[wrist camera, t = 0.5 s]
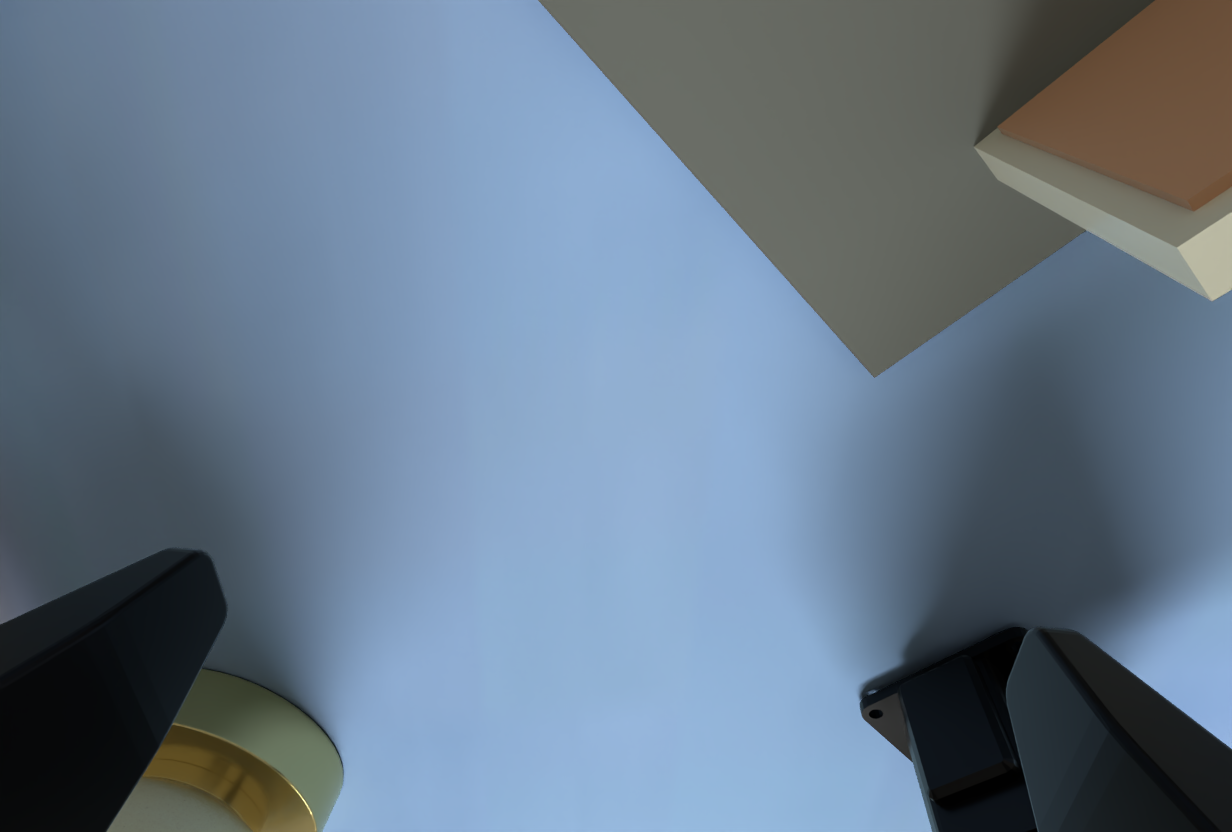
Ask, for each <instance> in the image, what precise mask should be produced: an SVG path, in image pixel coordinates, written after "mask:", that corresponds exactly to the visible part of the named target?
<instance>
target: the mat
mask: <svg viewBox="0 0 1232 832" xmlns="http://www.w3.org/2000/svg"><path fill="white" fill-rule="evenodd" d="M538 1H539V2H540V3H541V4H542V5H543V6H544V7H545V8H546V9H547V11H548V12H549V13H550V14H551V15H552V16H553V17H554V18H555V20H556V21H557V22H558V23H559V24H560V25H561V26H562V27H563V29H564V30H565V31H566V32H567V33H568V34H569V35H570V36H571V38H572V39H573V40H574V41H575V42H576V43H577V44H578V45H579V47H580V48H581V49H582V50H583V51H584V52H585V53H586V54H587V56H588V57H589V58H590V59H591V60H592V61H593V62H594V63H595V65H596V66H597V67H598V68H599V69H600V70H601V71H602V72H603V74H604V75H605V76H606V77H607V78H608V79H609V80H610V81H611V83H612V84H613V85H614V86H615V87H616V88H617V89H618V90H619V92H620V93H621V94H622V95H623V96H624V97H625V98H626V99H627V100H628V102H629V103H630V104H631V105H632V106H633V107H634V108H635V109H636V111H637V112H638V113H639V114H640V115H641V116H642V117H643V118H644V120H645V121H646V122H647V123H648V124H649V125H650V126H651V127H652V129H653V130H654V131H655V132H656V133H657V134H658V135H659V136H660V138H661V139H662V140H663V141H664V142H665V143H666V144H667V145H668V147H669V148H670V149H671V150H672V151H673V152H674V153H675V154H676V156H677V157H678V158H679V159H680V160H681V161H682V162H683V163H684V165H685V166H686V167H687V168H688V169H689V170H690V171H691V172H692V174H693V175H694V176H695V177H696V178H697V179H698V180H699V181H700V182H701V184H702V185H703V186H704V187H705V188H706V189H707V190H708V191H709V193H710V194H711V195H712V196H713V197H714V198H715V199H716V200H717V202H718V203H719V204H720V205H721V206H722V207H723V208H724V209H725V211H726V212H727V213H728V214H729V215H730V216H731V217H732V218H733V220H734V221H735V222H736V223H737V224H738V225H739V226H740V227H741V229H742V230H743V231H744V232H745V233H746V234H747V235H748V236H749V238H750V239H751V240H752V241H753V242H754V243H755V244H756V245H757V247H758V248H759V249H760V250H761V251H762V252H763V253H764V254H765V256H766V257H767V258H768V259H769V260H770V261H771V262H772V263H773V265H774V266H775V267H776V268H777V269H778V270H779V271H780V272H781V273H782V275H783V276H784V277H785V278H786V279H787V280H788V281H789V282H790V284H791V285H792V286H793V287H794V288H795V289H796V290H797V291H798V293H799V294H800V295H801V296H802V297H803V298H804V299H805V300H806V302H807V303H808V304H809V305H810V306H811V307H812V308H813V309H814V311H815V312H816V313H817V314H818V315H819V316H820V317H821V318H822V320H823V321H824V322H825V323H826V324H827V325H828V326H829V327H830V329H831V330H832V331H833V332H834V333H835V334H836V335H837V336H838V338H839V339H840V340H841V341H842V342H843V343H844V344H845V345H846V347H847V348H848V349H849V350H850V351H851V352H852V353H853V354H854V356H855V357H856V358H857V359H858V360H859V361H860V362H861V363H862V364H863V366H864V367H865V368H866V369H867V370H868V371H869V372H870V373H871V375H872V376H873V377H874V378H875V377H876V376H878V375H879V374H881V373H882V372H884V371H885V370H886V369H888V368H889V367H891V366H892V365H894V364H895V363H896V362H898V361H899V360H901V359H902V358H904V357H905V356H907V355H908V354H909V353H911V352H912V351H914V350H915V349H917V348H918V347H919V346H921V345H922V344H924V343H925V342H927V341H928V340H929V339H931V338H932V337H934V336H935V335H937V334H938V333H940V332H941V331H942V330H944V329H945V328H947V327H948V326H950V325H951V324H952V323H954V322H955V321H957V320H958V319H960V318H961V317H962V316H964V315H965V314H967V313H968V312H970V311H971V310H973V309H974V308H975V307H977V306H978V305H980V304H981V303H983V302H984V301H985V300H987V299H988V298H990V297H991V296H993V295H994V294H996V293H997V292H998V291H1000V290H1001V289H1003V288H1004V287H1006V286H1007V285H1008V284H1010V283H1011V282H1013V281H1014V280H1016V279H1017V278H1018V277H1020V276H1021V275H1023V274H1024V273H1026V272H1027V271H1029V270H1030V269H1031V268H1033V267H1034V266H1036V265H1037V264H1039V263H1040V262H1041V261H1043V260H1044V259H1046V258H1047V257H1049V256H1050V255H1051V254H1053V253H1054V252H1056V251H1057V250H1059V249H1060V248H1062V247H1063V246H1064V245H1066V244H1067V243H1069V242H1070V241H1072V240H1073V239H1074V238H1076V237H1077V236H1079V235H1080V234H1082V233H1083V232H1085V231H1086V230H1085V229H1084V228H1082V227H1080V226H1078V225H1076V224H1075V223H1073V222H1071V221H1069V220H1068V219H1066V218H1064V217H1062V216H1061V215H1059V214H1057V213H1055V212H1054V211H1052V210H1050V209H1048V208H1047V207H1045V206H1043V205H1041V204H1039V203H1038V202H1036V201H1034V200H1032V199H1031V198H1029V197H1027V196H1025V195H1024V194H1022V193H1020V192H1018V191H1017V190H1015V189H1013V188H1011V187H1009V186H1008V185H1006V184H1004V183H1002V182H1001V181H999V180H997V178H996V177H995V175H994V174H993V173H992V171H991V170H990V169H989V167H988V166H987V164H986V163H985V162H984V160H983V159H982V158H981V156H980V155H979V154H978V152H977V151H976V149H975V148H974V146H975V145H977V144H978V143H979V142H980V141H982V140H983V139H984V138H985V137H987V136H988V135H989V134H990V133H992V132H993V131H994V130H995V129H997V128H998V126H999V125H1000V124H1001V123H1003V122H1004V121H1005V120H1006V119H1008V118H1009V117H1010V116H1011V115H1012V114H1014V113H1015V112H1016V111H1017V110H1019V109H1020V108H1021V107H1022V106H1024V105H1025V104H1026V103H1027V102H1029V101H1030V100H1031V99H1032V98H1034V97H1035V96H1036V95H1037V94H1039V93H1040V92H1041V91H1042V90H1044V89H1045V88H1046V87H1047V86H1049V85H1050V84H1051V83H1052V82H1054V81H1055V80H1056V79H1057V78H1059V77H1060V76H1061V75H1062V74H1064V73H1065V72H1066V71H1067V70H1069V69H1070V68H1071V67H1072V66H1074V65H1075V64H1076V63H1077V62H1079V61H1080V60H1081V59H1082V58H1084V57H1085V56H1086V55H1087V54H1089V53H1090V52H1091V51H1092V50H1094V49H1095V48H1096V47H1097V46H1099V45H1100V44H1101V43H1102V42H1104V41H1105V40H1106V39H1107V38H1109V37H1110V36H1111V35H1112V34H1114V33H1115V32H1116V31H1117V30H1119V29H1120V28H1121V27H1122V26H1124V25H1125V24H1126V23H1127V22H1129V21H1130V20H1131V19H1132V18H1134V17H1135V16H1136V15H1137V14H1139V13H1140V12H1141V11H1142V10H1144V9H1145V8H1146V7H1147V6H1149V5H1150V4H1151V3H1152V2H1154V1H1155V0H538Z"/></svg>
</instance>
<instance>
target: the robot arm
mask: <svg viewBox="0 0 1232 832" xmlns="http://www.w3.org/2000/svg"><path fill="white" fill-rule="evenodd" d="M226 617H227V601H226V597H225V594H224V591H223V589H222V586H221V583H220V580H219V577H218V574H217V571H216V568H215V565H214V562H213V559H212V557H211V556H210V555H209V554H208V553H207V552H205V551H203V550H199V549H188V548H168V549H165V550H162V551H160V552H158V553H156V554H154V555H151V556H149V557H147V558H145V559H143V560H141V561H138V562H136V563H134V564H132V565H130V566H127V567H125V568H123V569H121V570H119V571H117V572H114V573H112V574H110V575H108V576H106V577H103V578H101V579H99V580H97V581H95V582H93V583H90V584H88V585H86V586H84V587H82V588H79V589H77V590H75V591H73V592H71V593H69V594H66V595H64V596H62V597H60V598H58V599H55V600H53V601H51V602H49V603H47V604H45V605H42V606H40V607H38V608H36V609H34V610H31V611H29V612H27V613H25V614H23V615H21V616H18V617H16V618H14V619H12V620H10V621H7V622H5V623H3V624H1V625H0V832H107V831H108V829H109V827H110V826H111V824H112V823H113V821H114V820H115V818H116V816H117V815H118V813H119V812H120V810H121V809H122V807H123V805H124V804H125V802H126V801H127V799H128V798H129V796H130V795H131V793H132V791H133V790H134V788H135V787H136V785H137V784H138V782H139V780H140V779H141V777H142V776H143V774H144V773H145V771H146V770H147V768H148V766H149V765H150V763H151V761H152V760H153V758H154V756H155V755H156V753H157V751H158V750H159V748H160V746H161V745H162V743H163V741H164V739H165V737H166V735H167V734H168V732H169V730H170V728H171V726H172V724H173V723H174V721H175V719H176V717H177V715H178V713H179V711H180V709H181V707H182V705H183V703H184V701H185V699H186V697H187V695H188V694H189V692H190V690H191V688H192V686H193V684H194V682H195V680H196V678H197V676H198V674H199V672H200V670H201V668H202V666H203V665H204V663H205V661H206V659H207V657H208V655H209V653H210V651H211V649H212V647H213V645H214V643H215V641H216V639H217V637H218V635H219V634H220V632H221V630H222V628H223V626H224V623H225V620H226ZM1016 642H1018V643H1016ZM860 710H861V714H862V717H863V718H864V720H865V721H866V722H868V723H869V724H870V725H871V726H872V727H873V728H874V729H876V730H877V731H878V732H879V733H880V734H881V735H882V736H883V737H885V738H886V739H887V740H888V741H889V742H890V743H891V744H892V745H894V746H895V747H896V748H897V749H898V750H899V751H900V752H902V753H903V754H904V755H905V756H906V757H907V758H908V759H909V760H911V761H912V762H913V764H914V768H915V772H916V775H917V779H918V782H919V786H920V789H921V793H922V797H923V800H924V804H925V807H926V811H927V814H928V818H929V821H930V825H931V829H932V832H1232V749H1231V748H1230V747H1228V746H1227V745H1226V744H1224V743H1223V742H1222V741H1220V740H1219V739H1218V738H1217V737H1215V736H1214V735H1213V734H1211V733H1210V732H1209V731H1207V730H1206V729H1205V728H1203V727H1202V726H1201V725H1200V724H1198V723H1197V722H1196V721H1194V720H1193V719H1192V718H1190V717H1189V716H1188V715H1187V714H1185V713H1184V712H1183V711H1181V710H1180V709H1179V708H1177V707H1176V706H1175V705H1173V704H1172V703H1171V702H1170V701H1168V700H1167V699H1166V698H1164V697H1163V696H1162V695H1160V694H1159V693H1158V692H1157V691H1155V690H1154V689H1153V688H1151V687H1150V686H1149V685H1147V684H1146V683H1145V682H1143V681H1142V680H1141V679H1140V678H1138V677H1137V676H1136V675H1134V674H1133V673H1132V672H1130V671H1129V670H1128V669H1126V668H1125V667H1124V666H1123V665H1121V664H1120V663H1119V662H1117V661H1116V660H1115V659H1113V658H1112V657H1111V656H1110V655H1108V654H1107V653H1106V652H1104V651H1103V650H1102V649H1100V648H1099V647H1098V646H1096V645H1095V644H1094V643H1093V642H1091V641H1090V640H1089V639H1087V638H1086V637H1085V636H1083V635H1082V634H1080V633H1079V632H1076V631H1074V630H1070V629H1060V628H1049V627H1034V628H1032V629H1030V630H1029V631H1028V630H1026V629H1025V628H1021V627H1013V628H1009V629H1006V630H1004V631H1002V632H1000V633H998V634H996V635H994V636H992V637H990V638H988V639H986V640H984V641H981V642H979V643H977V644H975V645H973V646H971V647H969V648H967V649H965V650H963V651H961V652H959V653H957V654H955V655H952V656H950V657H948V658H946V659H944V660H942V661H940V662H938V663H936V664H934V665H932V666H930V667H928V668H925V669H923V670H921V671H919V672H917V673H915V674H913V675H911V676H909V677H907V678H905V679H903V680H901V681H898V682H896V683H894V684H892V685H890V686H888V687H886V688H884V689H882V690H880V691H878V692H876V693H874V694H871V695H869V696H867V697H865V698H864V699H863V700H861V702H860Z"/></svg>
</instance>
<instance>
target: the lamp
mask: <svg viewBox="0 0 1232 832" xmlns="http://www.w3.org/2000/svg"><path fill="white" fill-rule="evenodd" d="M342 785H343V768H342V764H341V761H340V757H339V755H338V753H337V751H336V749H335V747H334V745H333V744H332V742H331V741H330V739H329V738H328V736H327V735H326V734H325V733H324V732H323V731H322V729H321V728H320V727H319V726H318V725H317V724H316V723H315V722H314V721H313V720H312V719H311V718H310V717H309V716H307V715H306V714H305V713H304V712H302V711H301V710H300V709H299V708H297V707H296V706H294V705H293V704H291V703H290V702H288V701H287V700H285V699H284V698H282V697H280V696H278V695H277V694H275V693H273V692H271V691H270V690H267V689H265V688H263V687H261V686H259V685H257V684H255V683H252V682H249V681H247V680H244V679H241V678H239V677H235V676H232V675H229V674H225V673H222V672H217V671H212V670H208V669H201V670H200V672H199V674H198V676H197V678H196V680H195V682H194V684H193V686H192V688H191V690H190V692H189V694H188V695H187V697H186V699H185V701H184V703H183V705H182V707H181V709H180V711H179V713H178V715H177V717H176V719H175V721H174V723H173V724H172V726H171V728H170V730H169V732H168V734H167V735H166V737H165V739H164V741H163V743H162V745H161V746H160V748H159V750H158V751H157V753H156V755H155V756H154V758H153V760H152V761H151V763H150V765H149V766H148V768H147V770H146V771H145V773H144V774H143V776H142V777H141V779H140V780H139V782H138V784H137V785H136V787H135V788H134V790H133V791H132V793H131V795H130V796H129V798H128V799H127V801H126V802H125V804H124V805H123V807H122V809H121V810H120V812H119V813H118V815H117V816H116V818H115V820H114V821H113V823H112V824H111V826H110V827H109V829H108V831H107V832H322V831H323V829H324V827H325V824H326V822H327V820H328V818H329V816H330V814H331V811H332V809H333V807H334V805H335V803H336V801H337V799H338V796H339V794H340V791H341V788H342Z"/></svg>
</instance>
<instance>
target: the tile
mask: <svg viewBox="0 0 1232 832" xmlns="http://www.w3.org/2000/svg"><path fill="white" fill-rule="evenodd" d="M974 148H975V149H976V151H977V152H978V154H979V155H980V156H981V158H982V159H983V160H984V162H985V163H986V164H987V166H988V167H989V169H990V170H991V171H992V173H993V174H994V175H995V177H996V178H997V180H999V181H1001V182H1002V183H1004V184H1006V185H1008V186H1009V187H1011V188H1013V189H1015V190H1017V191H1018V192H1020V193H1022V194H1024V195H1025V196H1027V197H1029V198H1031V199H1032V200H1034V201H1036V202H1038V203H1039V204H1041V205H1043V206H1045V207H1047V208H1048V209H1050V210H1052V211H1054V212H1055V213H1057V214H1059V215H1061V216H1062V217H1064V218H1066V219H1068V220H1069V221H1071V222H1073V223H1075V224H1076V225H1078V226H1080V227H1082V228H1084V229H1085V230H1087V231H1089V232H1091V233H1092V234H1094V235H1096V236H1098V237H1099V238H1101V239H1103V240H1105V241H1106V242H1108V243H1110V244H1112V245H1113V246H1115V247H1117V248H1119V249H1121V250H1122V251H1124V252H1126V253H1128V254H1129V255H1131V256H1133V257H1135V258H1136V259H1138V260H1140V261H1142V262H1143V263H1145V264H1147V265H1149V266H1151V267H1152V268H1154V269H1156V270H1158V271H1159V272H1161V273H1163V274H1165V275H1166V276H1168V277H1170V278H1172V279H1173V280H1175V281H1177V282H1179V283H1180V284H1182V285H1184V286H1186V287H1188V288H1189V289H1191V290H1193V291H1195V292H1196V293H1198V294H1200V295H1202V296H1203V297H1205V298H1207V299H1209V300H1210V301H1214V300H1215V299H1217V298H1219V297H1220V296H1222V295H1224V294H1225V293H1227V292H1229V291H1230V290H1232V0H1155V1H1154V2H1152V3H1151V4H1150V5H1149V6H1147V7H1146V8H1145V9H1144V10H1142V11H1141V12H1140V13H1139V14H1137V15H1136V16H1135V17H1134V18H1132V19H1131V20H1130V21H1129V22H1127V23H1126V24H1125V25H1124V26H1122V27H1121V28H1120V29H1119V30H1117V31H1116V32H1115V33H1114V34H1112V35H1111V36H1110V37H1109V38H1107V39H1106V40H1105V41H1104V42H1102V43H1101V44H1100V45H1099V46H1097V47H1096V48H1095V49H1094V50H1092V51H1091V52H1090V53H1089V54H1087V55H1086V56H1085V57H1084V58H1082V59H1081V60H1080V61H1079V62H1077V63H1076V64H1075V65H1074V66H1072V67H1071V68H1070V69H1069V70H1067V71H1066V72H1065V73H1064V74H1062V75H1061V76H1060V77H1059V78H1057V79H1056V80H1055V81H1054V82H1052V83H1051V84H1050V85H1049V86H1047V87H1046V88H1045V89H1044V90H1042V91H1041V92H1040V93H1039V94H1037V95H1036V96H1035V97H1034V98H1032V99H1031V100H1030V101H1029V102H1027V103H1026V104H1025V105H1024V106H1022V107H1021V108H1020V109H1019V110H1017V111H1016V112H1015V113H1014V114H1012V115H1011V116H1010V117H1009V118H1008V119H1006V120H1005V121H1004V122H1003V123H1001V124H1000V125H999V126H998V128H997V129H995V130H994V131H993V132H992V133H990V134H989V135H988V136H987V137H985V138H984V139H983V140H982V141H980V142H979V143H978V144H977V145H975V146H974Z"/></svg>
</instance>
